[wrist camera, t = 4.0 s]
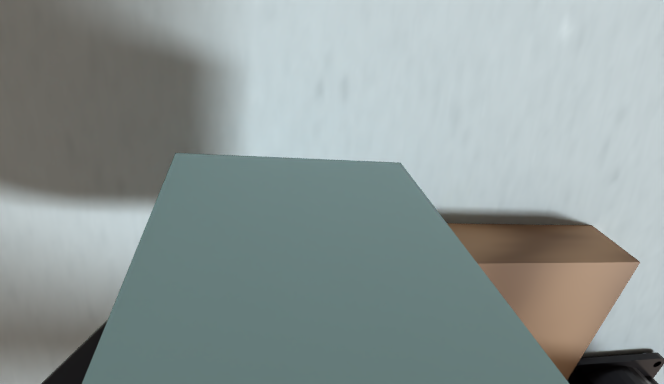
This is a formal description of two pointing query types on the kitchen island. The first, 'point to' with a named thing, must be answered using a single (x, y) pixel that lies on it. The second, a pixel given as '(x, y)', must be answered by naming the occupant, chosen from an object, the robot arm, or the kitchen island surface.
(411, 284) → the teal block
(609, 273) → the walnut base block
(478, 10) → the kitchen island surface
